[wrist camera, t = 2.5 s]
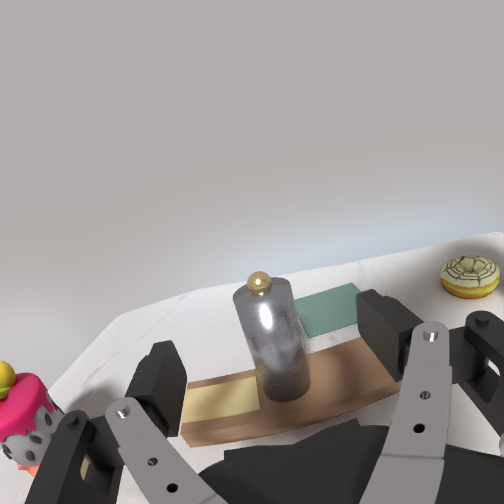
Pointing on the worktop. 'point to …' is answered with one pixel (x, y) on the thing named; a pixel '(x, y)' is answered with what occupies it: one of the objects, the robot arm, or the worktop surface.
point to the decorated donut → (470, 276)
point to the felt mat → (328, 309)
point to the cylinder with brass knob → (273, 336)
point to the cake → (27, 419)
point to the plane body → (284, 413)
